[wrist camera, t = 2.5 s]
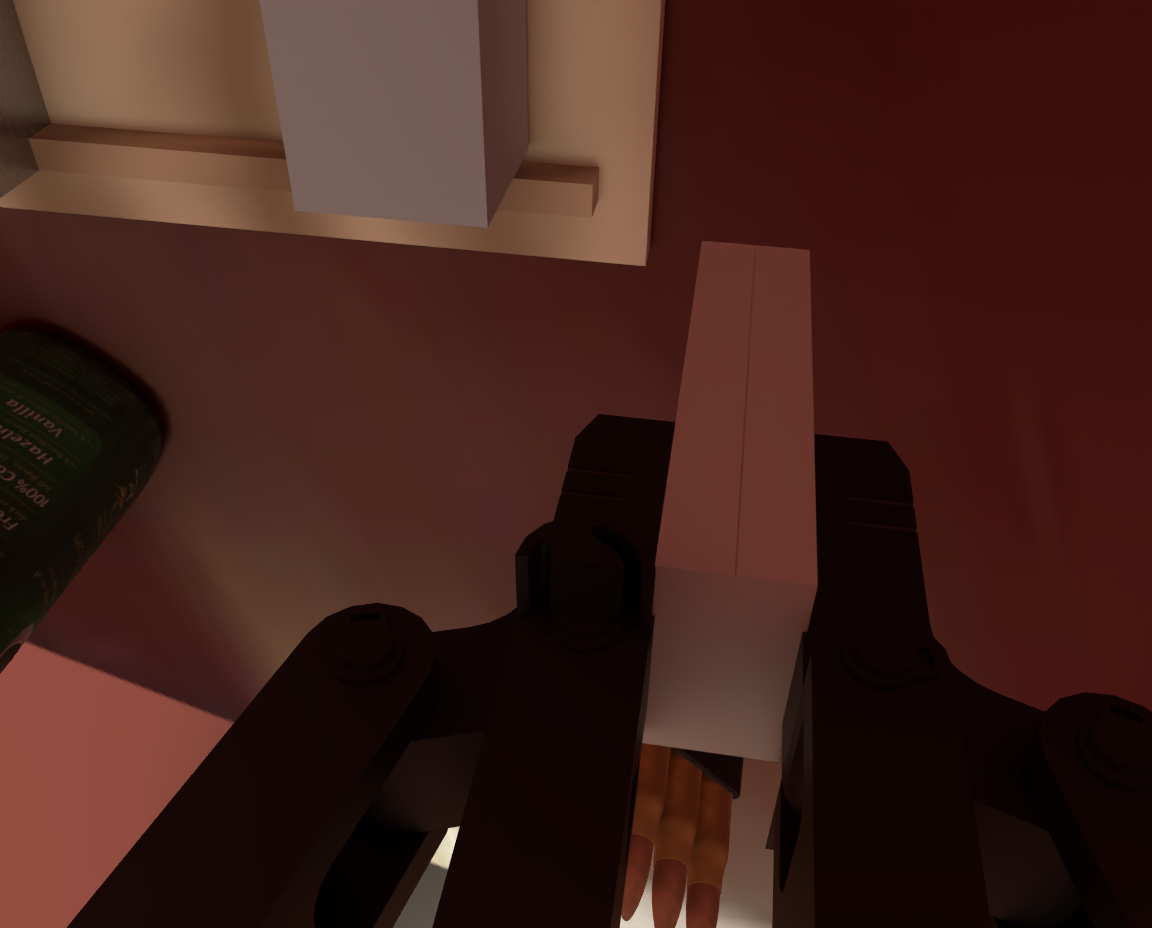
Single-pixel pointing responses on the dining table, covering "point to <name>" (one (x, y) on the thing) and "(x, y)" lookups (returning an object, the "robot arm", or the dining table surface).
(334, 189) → the grey rectangular block
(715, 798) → the ammunition clip
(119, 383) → the coffee jar
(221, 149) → the board
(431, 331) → the dining table surface
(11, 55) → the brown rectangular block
